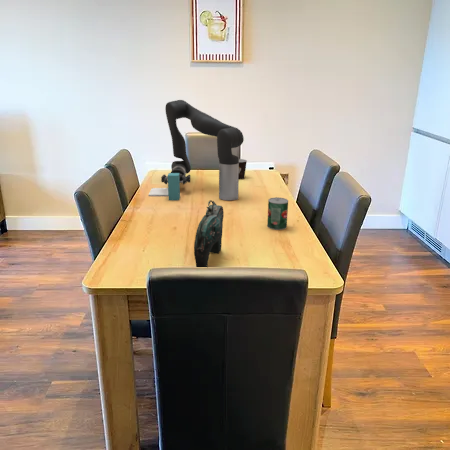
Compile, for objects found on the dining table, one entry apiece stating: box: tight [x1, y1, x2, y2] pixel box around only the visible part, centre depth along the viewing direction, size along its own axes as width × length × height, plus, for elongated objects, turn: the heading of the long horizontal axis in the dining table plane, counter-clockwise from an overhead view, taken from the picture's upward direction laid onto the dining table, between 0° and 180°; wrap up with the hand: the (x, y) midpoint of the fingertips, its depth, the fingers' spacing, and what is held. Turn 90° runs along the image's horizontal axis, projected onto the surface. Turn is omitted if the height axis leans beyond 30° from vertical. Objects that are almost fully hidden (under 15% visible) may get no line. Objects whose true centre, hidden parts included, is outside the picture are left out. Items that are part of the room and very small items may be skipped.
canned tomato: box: [266, 196, 289, 231], centre depth 177 cm, size 8×8×11 cm
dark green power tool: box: [193, 199, 225, 268], centre depth 146 cm, size 20×6×20 cm, turn 163°
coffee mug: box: [238, 158, 248, 180], centre depth 252 cm, size 12×9×10 cm
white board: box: [148, 187, 168, 197], centre depth 223 cm, size 12×12×1 cm
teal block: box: [167, 172, 181, 201], centre depth 212 cm, size 5×5×12 cm
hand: (174, 182), depth 215 cm, fingers open, 8 cm apart
